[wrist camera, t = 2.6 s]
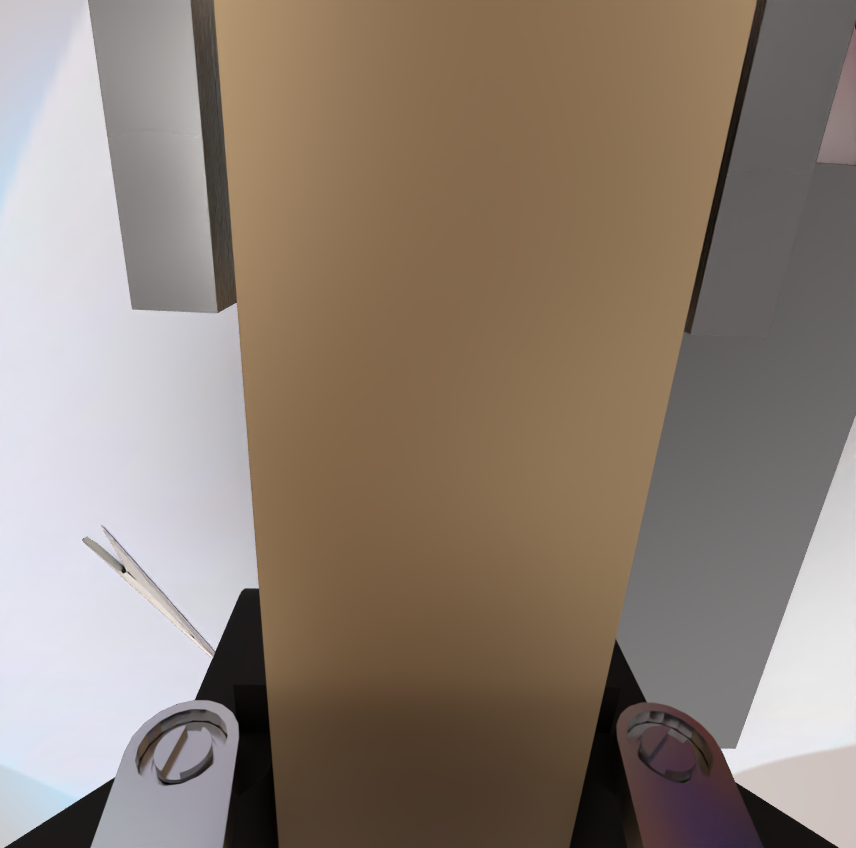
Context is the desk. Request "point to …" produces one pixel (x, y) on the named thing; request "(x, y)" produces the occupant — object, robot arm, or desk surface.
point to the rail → (457, 381)
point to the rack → (208, 184)
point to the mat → (745, 478)
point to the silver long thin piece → (146, 588)
